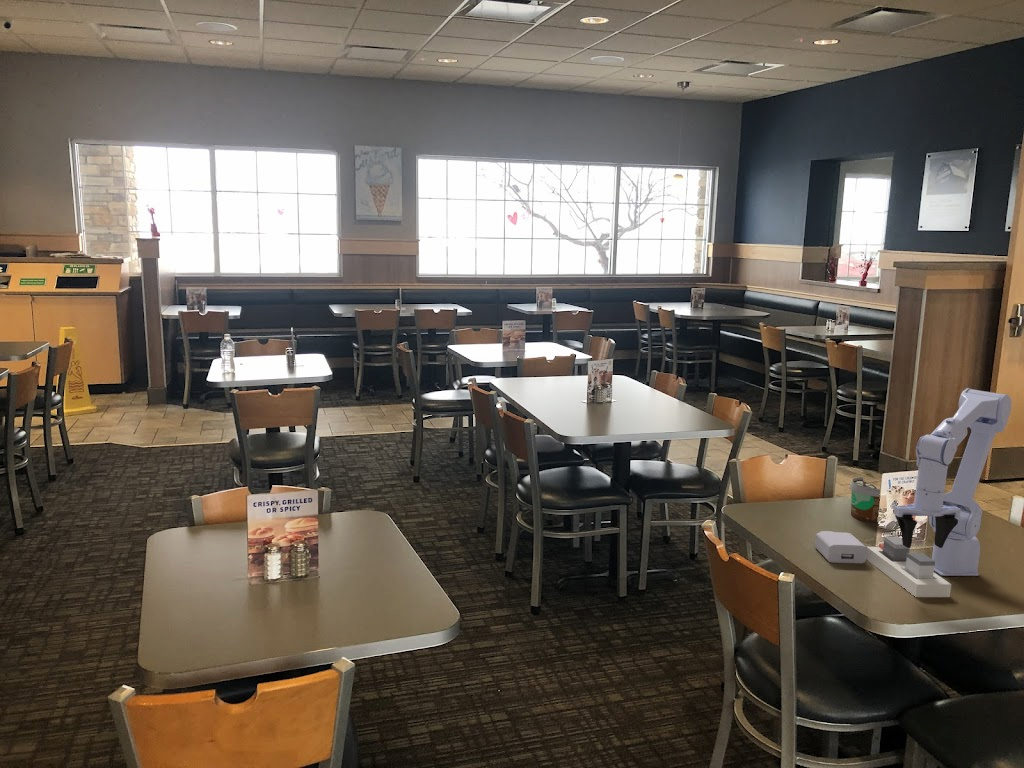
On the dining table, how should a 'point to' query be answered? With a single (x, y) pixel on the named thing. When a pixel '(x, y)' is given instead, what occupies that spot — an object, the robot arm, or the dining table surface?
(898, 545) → the charcoal plug
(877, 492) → the food container
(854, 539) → the charger
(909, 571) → the grey plug
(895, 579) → the power strip
